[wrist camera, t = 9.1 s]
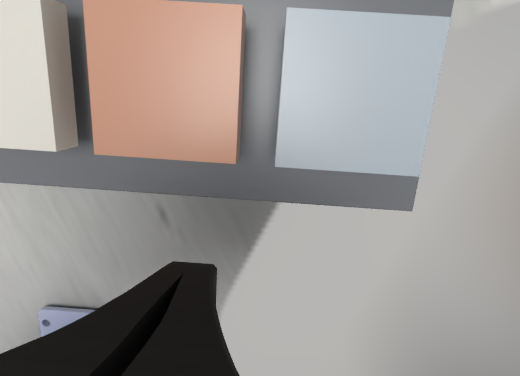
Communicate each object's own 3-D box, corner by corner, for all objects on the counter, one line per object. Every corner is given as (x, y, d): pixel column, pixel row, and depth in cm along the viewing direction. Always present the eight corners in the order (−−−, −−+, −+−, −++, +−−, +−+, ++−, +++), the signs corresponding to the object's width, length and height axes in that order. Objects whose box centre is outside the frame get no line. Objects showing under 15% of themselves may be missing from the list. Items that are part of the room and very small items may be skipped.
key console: (390, 193, 18) (412, 211, 16) (7, 167, 19) (-40, 179, 16) (424, -5, 16) (459, -28, 13) (-22, -31, 16) (-86, -59, 13)
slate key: (381, 156, 17) (419, 176, 12) (274, 149, 17) (274, 166, 12) (400, 39, 15) (451, 16, 11) (282, 32, 15) (286, 7, 11)
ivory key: (110, 138, 17) (56, 151, 13) (6, 131, 17) (-83, 142, 13) (103, 22, 15) (39, -7, 11) (-11, 15, 16) (-118, -17, 11)
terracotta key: (245, 147, 17) (235, 164, 12) (139, 140, 17) (94, 154, 13) (250, 30, 15) (242, 5, 11) (134, 23, 15) (82, -5, 11)
